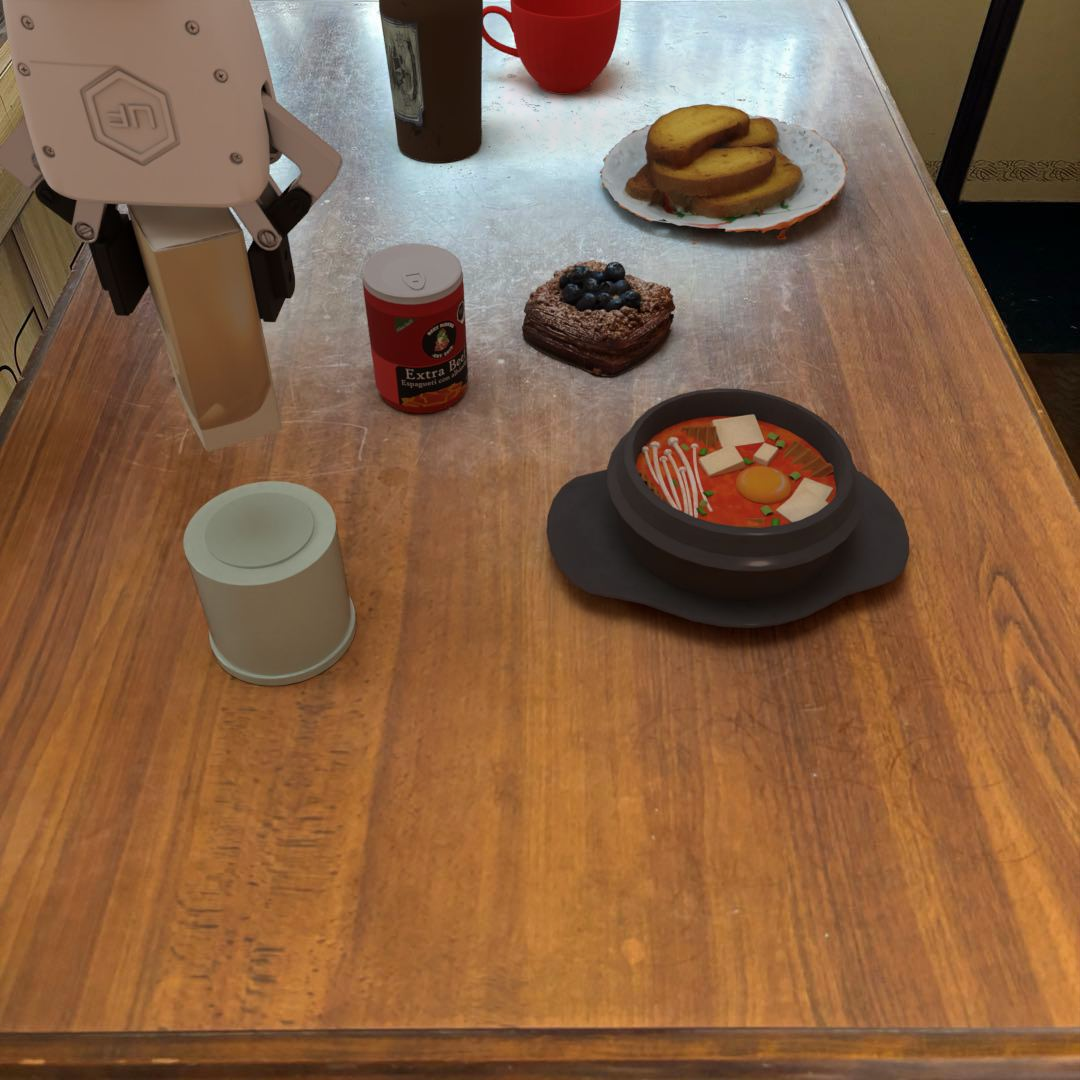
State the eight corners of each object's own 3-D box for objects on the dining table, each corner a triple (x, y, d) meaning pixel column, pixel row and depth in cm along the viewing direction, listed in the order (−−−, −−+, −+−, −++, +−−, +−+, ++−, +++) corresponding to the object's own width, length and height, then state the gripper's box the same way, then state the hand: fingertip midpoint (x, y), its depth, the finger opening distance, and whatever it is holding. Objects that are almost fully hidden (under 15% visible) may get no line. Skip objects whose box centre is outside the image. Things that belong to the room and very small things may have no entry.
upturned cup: (192, 681, 69) (157, 580, 63) (233, 573, 76) (205, 472, 69) (340, 690, 69) (320, 589, 62) (368, 581, 75) (352, 480, 69)
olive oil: (455, 116, 129) (442, -127, 111) (505, 150, 123) (500, -103, 105) (375, 139, 124) (349, -111, 107) (423, 175, 118) (403, -84, 101)
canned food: (404, 427, 87) (391, 307, 80) (359, 377, 92) (342, 260, 84) (487, 395, 90) (482, 277, 83) (438, 348, 95) (430, 232, 87)
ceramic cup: (483, 61, 141) (480, -23, 134) (616, 63, 140) (620, -21, 133) (475, 103, 131) (471, 16, 124) (617, 106, 131) (622, 18, 124)
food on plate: (840, 260, 106) (854, 196, 101) (584, 237, 109) (585, 174, 104) (839, 144, 123) (850, 85, 119) (618, 127, 127) (621, 69, 122)
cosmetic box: (176, 392, 62) (118, 189, 53) (251, 371, 63) (206, 170, 55) (207, 458, 58) (149, 249, 49) (287, 434, 59) (244, 226, 51)
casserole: (555, 655, 71) (556, 563, 65) (538, 467, 84) (539, 376, 78) (938, 639, 72) (974, 547, 66) (862, 455, 85) (886, 365, 79)
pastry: (617, 387, 91) (620, 327, 87) (503, 337, 96) (501, 278, 92) (687, 328, 97) (693, 269, 93) (577, 284, 103) (578, 226, 98)
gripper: (-154, -65, 41) (7, 339, 54) (305, -53, 40) (359, 355, 53) (-61, -120, 46) (65, 259, 59) (346, -110, 46) (386, 272, 58)
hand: (203, 301), depth 56 cm, fingers closed on cosmetic box, 6 cm apart
